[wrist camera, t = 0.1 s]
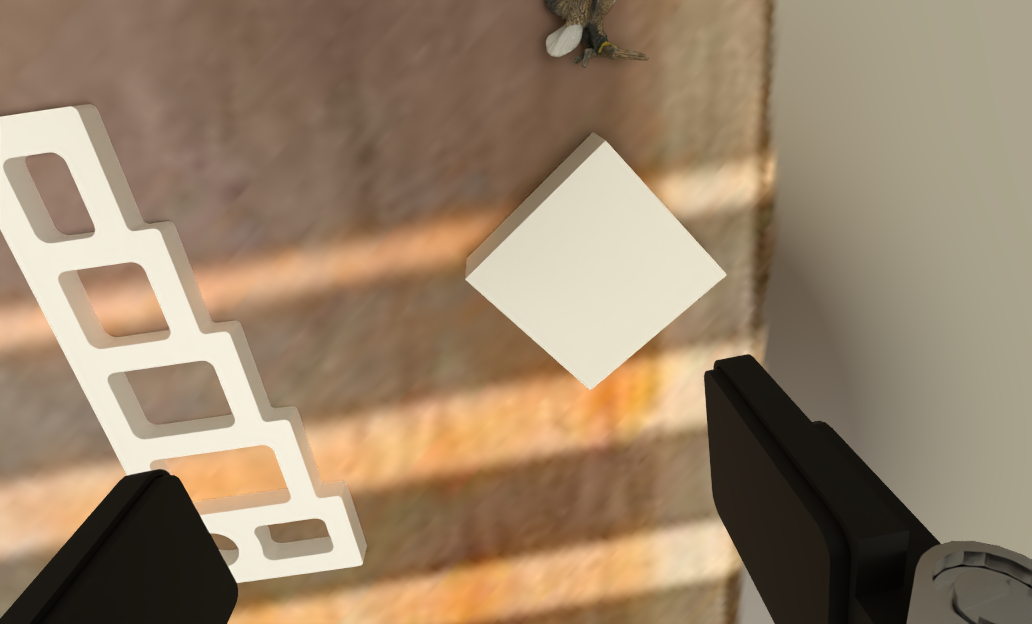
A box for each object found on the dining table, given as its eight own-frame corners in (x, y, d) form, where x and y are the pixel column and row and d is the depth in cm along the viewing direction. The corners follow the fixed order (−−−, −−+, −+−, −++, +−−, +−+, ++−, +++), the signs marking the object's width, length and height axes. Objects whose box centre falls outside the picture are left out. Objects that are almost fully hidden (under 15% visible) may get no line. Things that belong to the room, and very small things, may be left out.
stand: (466, 257, 47) (465, 279, 43) (593, 131, 44) (605, 140, 39) (581, 361, 52) (590, 390, 47) (704, 254, 48) (726, 274, 44)
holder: (-23, 120, 42) (-54, 124, 39) (221, 84, 42) (205, 86, 39) (198, 568, 60) (186, 590, 58) (368, 544, 60) (363, 565, 58)
